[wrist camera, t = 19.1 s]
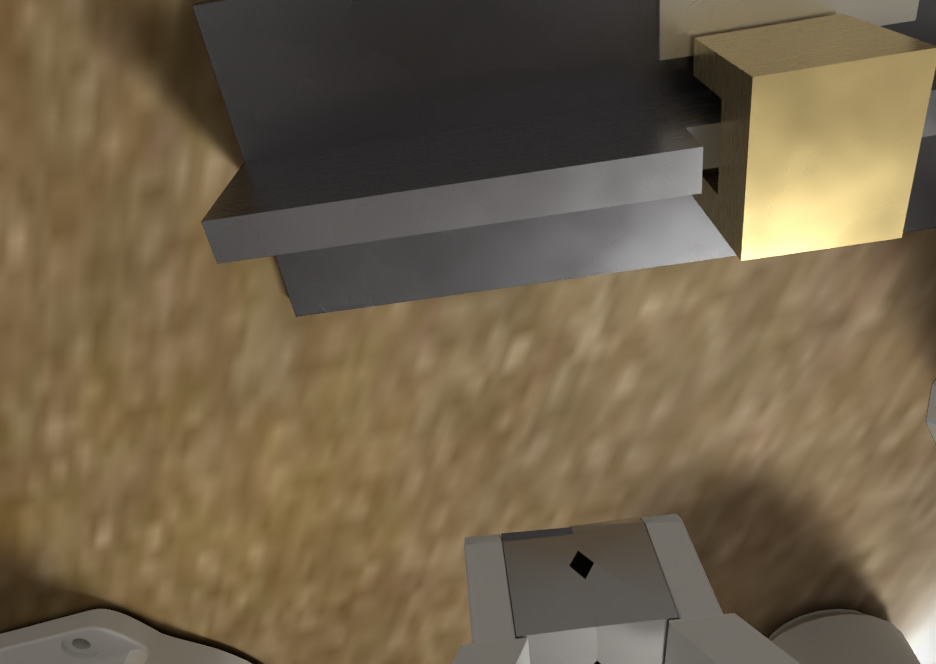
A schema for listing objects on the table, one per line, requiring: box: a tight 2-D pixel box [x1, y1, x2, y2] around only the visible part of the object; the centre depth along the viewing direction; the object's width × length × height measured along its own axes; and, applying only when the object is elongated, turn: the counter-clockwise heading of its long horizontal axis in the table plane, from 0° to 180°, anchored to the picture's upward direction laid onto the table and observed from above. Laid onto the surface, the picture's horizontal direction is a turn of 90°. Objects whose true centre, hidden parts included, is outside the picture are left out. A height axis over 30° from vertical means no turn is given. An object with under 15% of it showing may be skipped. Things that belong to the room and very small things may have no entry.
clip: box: [692, 13, 936, 261], centre depth 19 cm, size 4×5×4 cm
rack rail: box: [193, 0, 936, 317], centre depth 19 cm, size 22×10×5 cm, turn 98°
